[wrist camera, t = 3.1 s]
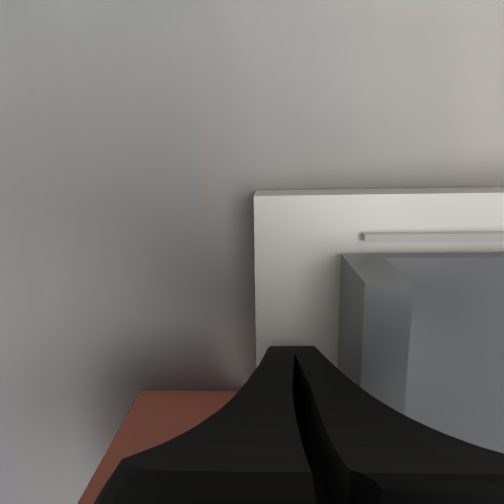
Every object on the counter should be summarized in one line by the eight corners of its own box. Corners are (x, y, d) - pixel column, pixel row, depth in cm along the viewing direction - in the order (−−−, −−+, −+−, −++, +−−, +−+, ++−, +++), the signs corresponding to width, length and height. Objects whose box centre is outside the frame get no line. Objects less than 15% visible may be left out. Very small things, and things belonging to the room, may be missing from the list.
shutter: (334, 466, 13) (353, 550, 10) (340, 253, 11) (364, 282, 8) (565, 469, 12) (650, 556, 10) (602, 251, 11) (714, 280, 8)
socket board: (261, 575, 17) (260, 657, 14) (256, 190, 14) (253, 196, 11) (657, 584, 16) (738, 671, 14) (754, 183, 13) (889, 188, 10)
